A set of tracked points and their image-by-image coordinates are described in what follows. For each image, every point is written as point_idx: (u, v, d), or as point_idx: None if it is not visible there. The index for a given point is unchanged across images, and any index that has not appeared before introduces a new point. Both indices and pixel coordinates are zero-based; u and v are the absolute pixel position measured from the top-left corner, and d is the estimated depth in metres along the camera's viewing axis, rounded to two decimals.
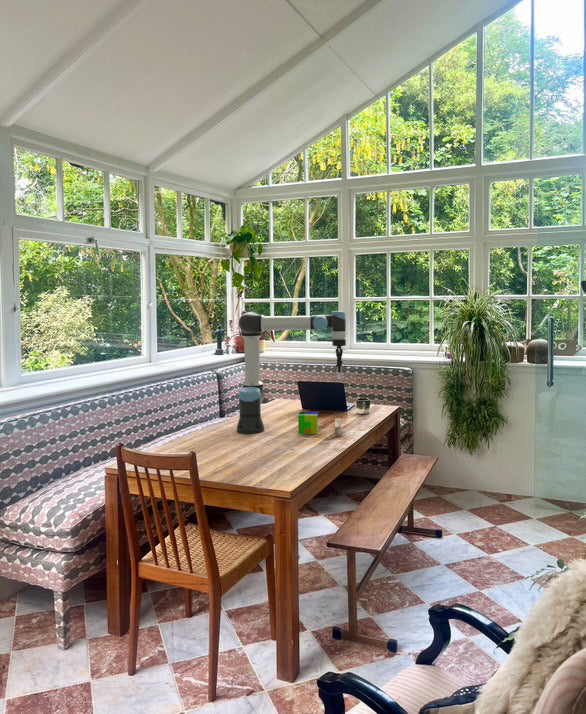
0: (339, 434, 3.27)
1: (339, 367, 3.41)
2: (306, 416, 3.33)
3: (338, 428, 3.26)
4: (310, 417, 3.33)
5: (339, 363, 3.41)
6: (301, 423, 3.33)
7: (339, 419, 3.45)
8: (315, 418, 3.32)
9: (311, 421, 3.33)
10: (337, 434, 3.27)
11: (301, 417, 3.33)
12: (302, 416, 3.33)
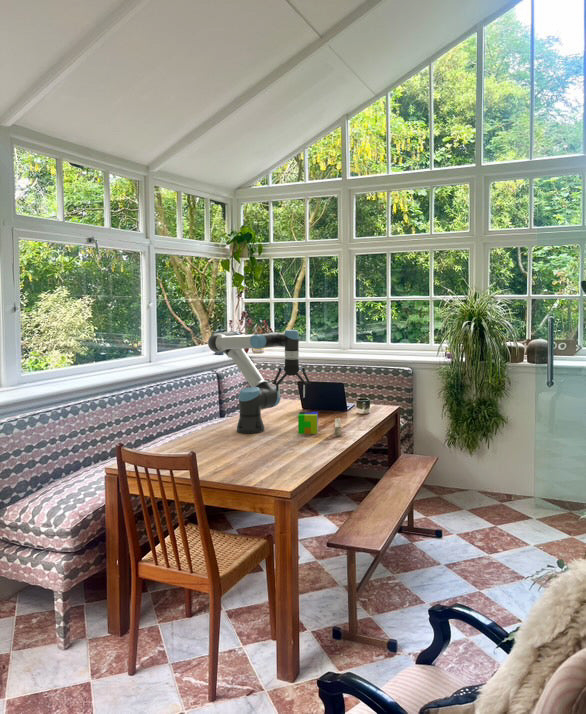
0: (339, 434, 3.27)
1: (276, 386, 3.38)
2: (306, 416, 3.33)
3: (338, 428, 3.26)
4: (310, 417, 3.33)
5: (277, 382, 3.37)
6: (301, 423, 3.33)
7: (339, 419, 3.45)
8: (315, 418, 3.32)
9: (311, 421, 3.33)
10: (337, 434, 3.27)
11: (301, 417, 3.33)
12: (302, 416, 3.33)
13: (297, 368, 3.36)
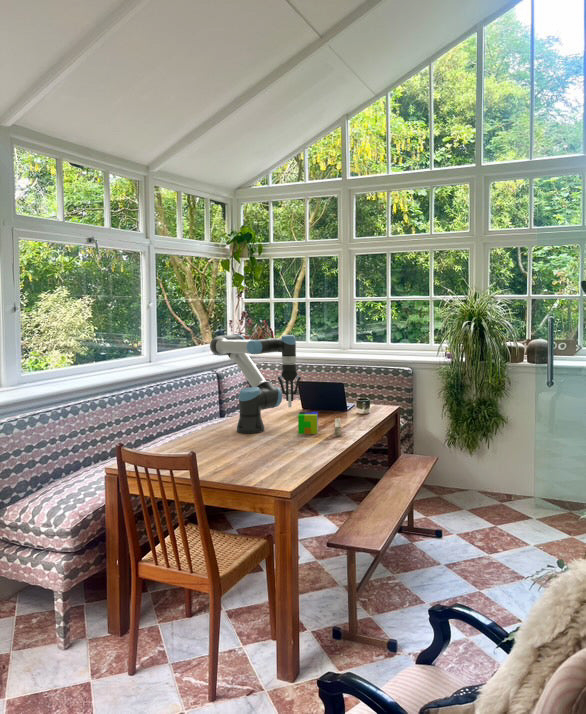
0: (339, 434, 3.27)
1: (286, 395, 3.37)
2: (306, 416, 3.33)
3: (338, 428, 3.26)
4: (310, 417, 3.33)
5: (286, 392, 3.37)
6: (301, 423, 3.33)
7: (339, 419, 3.45)
8: (315, 418, 3.32)
9: (311, 421, 3.33)
10: (337, 434, 3.27)
11: (301, 417, 3.33)
12: (302, 416, 3.33)
13: (295, 374, 3.35)
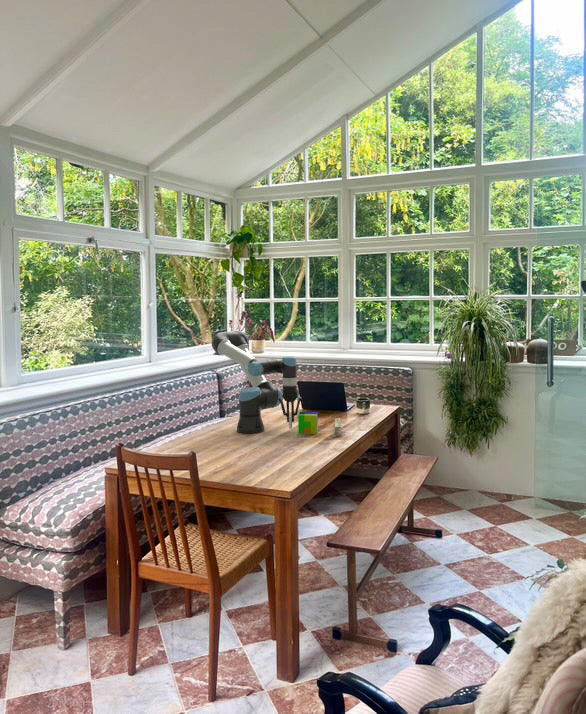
0: (339, 434, 3.27)
1: None
2: (306, 416, 3.33)
3: (338, 428, 3.26)
4: (310, 417, 3.33)
5: (287, 413, 3.38)
6: (301, 423, 3.33)
7: (339, 419, 3.45)
8: (315, 418, 3.32)
9: (311, 421, 3.33)
10: (337, 434, 3.27)
11: (301, 417, 3.33)
12: (302, 416, 3.33)
13: (296, 395, 3.36)
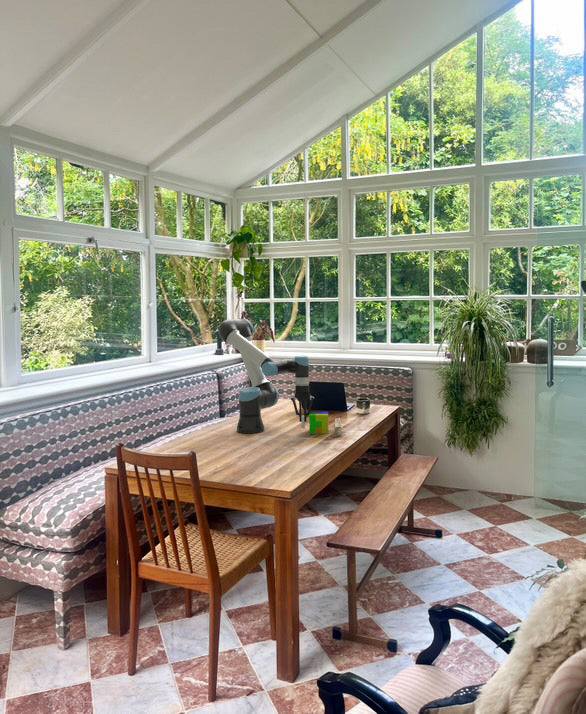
0: (339, 434, 3.27)
1: (299, 416, 3.38)
2: (317, 416, 3.32)
3: (338, 428, 3.26)
4: (321, 417, 3.32)
5: None
6: (312, 422, 3.33)
7: (339, 419, 3.45)
8: (326, 418, 3.32)
9: (322, 421, 3.33)
10: (337, 434, 3.27)
11: (312, 416, 3.33)
12: (313, 416, 3.33)
13: (308, 394, 3.35)
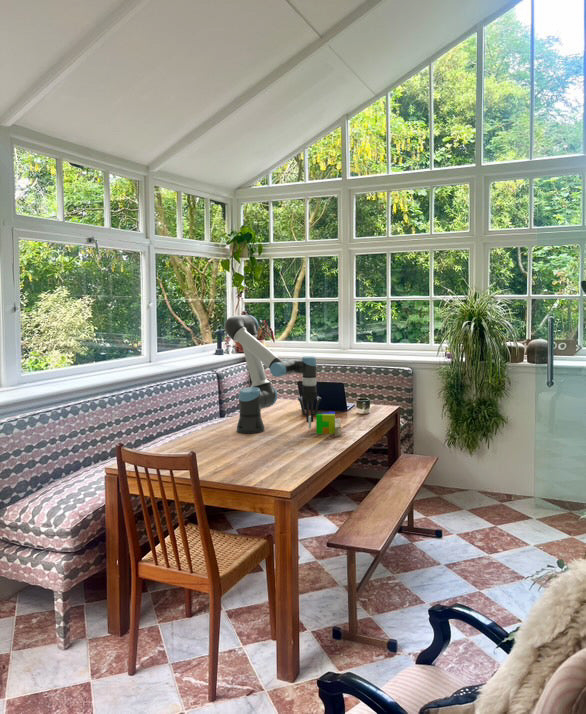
0: (339, 434, 3.27)
1: (306, 416, 3.38)
2: (324, 416, 3.32)
3: (338, 428, 3.26)
4: (328, 417, 3.32)
5: None
6: (319, 423, 3.33)
7: (339, 419, 3.45)
8: (333, 418, 3.32)
9: (329, 421, 3.32)
10: (337, 434, 3.27)
11: (319, 417, 3.32)
12: (320, 416, 3.32)
13: (315, 395, 3.35)
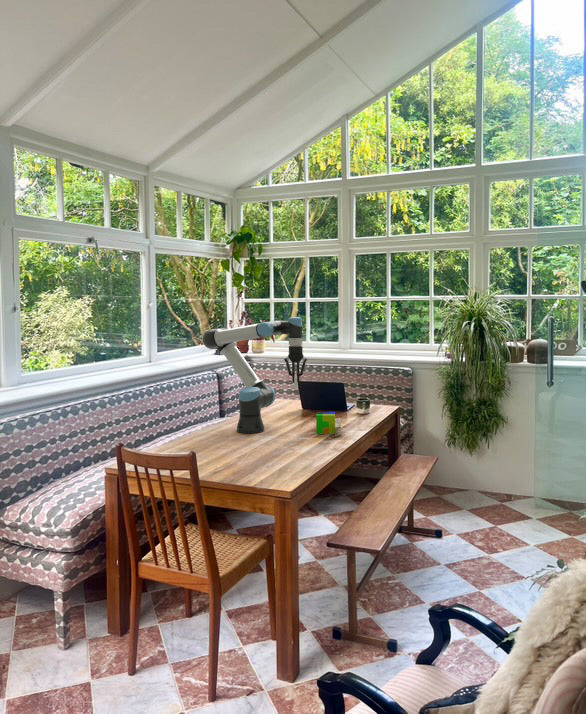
0: (339, 434, 3.27)
1: (292, 377, 3.42)
2: (324, 416, 3.32)
3: (338, 428, 3.26)
4: (328, 417, 3.32)
5: None
6: (319, 423, 3.33)
7: (339, 419, 3.45)
8: (333, 418, 3.32)
9: (329, 421, 3.32)
10: (337, 434, 3.27)
11: (319, 417, 3.32)
12: (320, 416, 3.32)
13: (301, 355, 3.39)
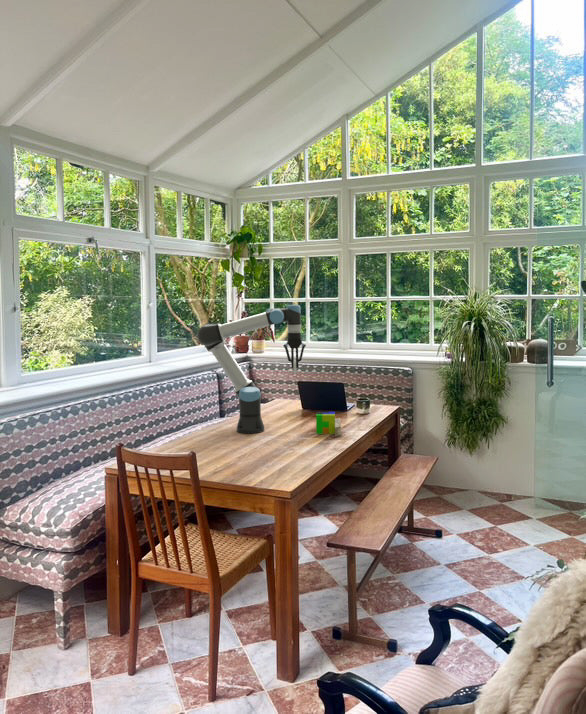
0: (339, 434, 3.27)
1: (291, 362, 3.53)
2: (324, 416, 3.32)
3: (338, 428, 3.26)
4: (328, 417, 3.32)
5: None
6: (319, 423, 3.33)
7: (339, 419, 3.45)
8: (333, 418, 3.32)
9: (329, 421, 3.32)
10: (337, 434, 3.27)
11: (319, 417, 3.32)
12: (320, 416, 3.32)
13: (300, 341, 3.51)
